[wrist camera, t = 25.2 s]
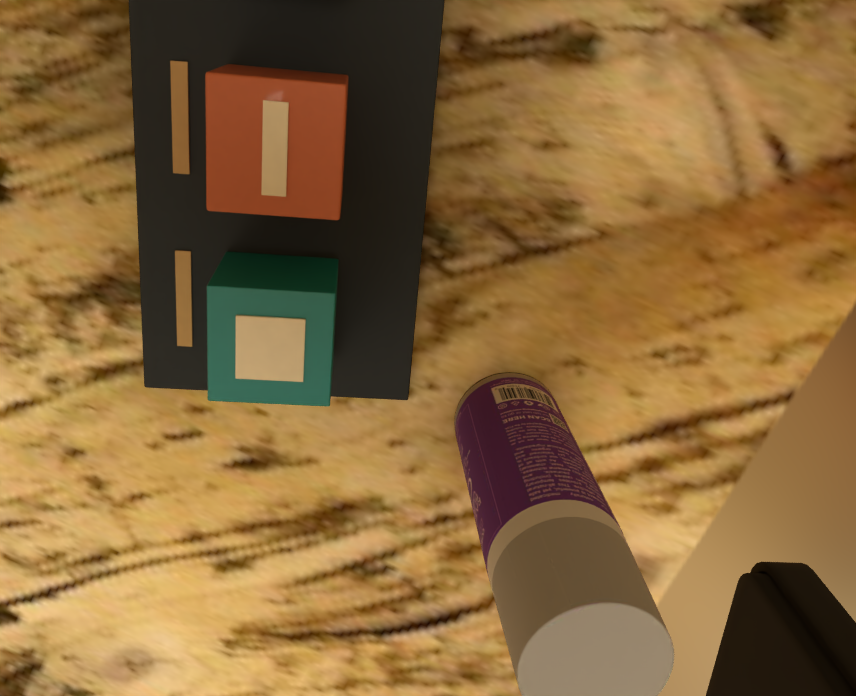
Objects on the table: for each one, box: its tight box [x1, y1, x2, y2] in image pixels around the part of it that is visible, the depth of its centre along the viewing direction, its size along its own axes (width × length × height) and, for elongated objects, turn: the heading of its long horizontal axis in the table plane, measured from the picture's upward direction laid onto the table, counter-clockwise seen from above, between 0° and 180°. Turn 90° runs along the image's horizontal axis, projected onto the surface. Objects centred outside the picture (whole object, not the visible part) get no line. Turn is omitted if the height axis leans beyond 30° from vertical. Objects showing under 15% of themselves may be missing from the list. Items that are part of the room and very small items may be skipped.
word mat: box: [129, 0, 444, 400], centre depth 31 cm, size 22×11×1 cm, turn 175°
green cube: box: [207, 252, 339, 406], centre depth 31 cm, size 4×4×4 cm
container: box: [454, 373, 674, 696], centre depth 30 cm, size 5×5×15 cm
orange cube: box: [205, 64, 349, 220], centre depth 28 cm, size 4×4×4 cm
